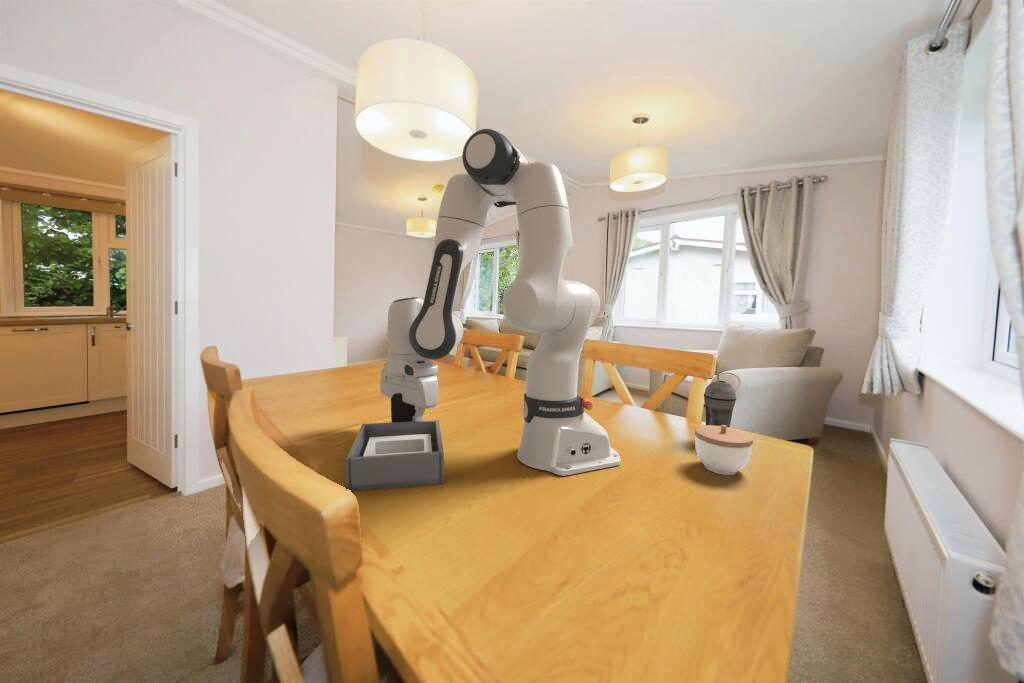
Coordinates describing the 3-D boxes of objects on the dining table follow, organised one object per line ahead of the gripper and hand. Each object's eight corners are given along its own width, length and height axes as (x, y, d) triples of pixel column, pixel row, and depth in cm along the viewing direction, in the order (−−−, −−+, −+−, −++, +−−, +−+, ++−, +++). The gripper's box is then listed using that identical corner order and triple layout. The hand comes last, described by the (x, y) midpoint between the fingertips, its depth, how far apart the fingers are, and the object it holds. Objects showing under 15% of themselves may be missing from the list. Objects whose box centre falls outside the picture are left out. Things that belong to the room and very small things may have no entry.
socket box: (438, 444, 92) (438, 420, 92) (443, 483, 73) (443, 452, 72) (362, 449, 89) (362, 423, 88) (346, 491, 69) (345, 459, 69)
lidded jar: (762, 475, 79) (766, 430, 78) (724, 484, 75) (728, 437, 74) (716, 455, 89) (719, 416, 88) (681, 462, 85) (684, 420, 84)
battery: (423, 434, 99) (423, 390, 98) (417, 440, 95) (417, 394, 94) (397, 433, 100) (396, 389, 99) (390, 438, 96) (389, 392, 95)
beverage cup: (737, 448, 94) (744, 366, 92) (704, 445, 96) (710, 364, 93) (727, 438, 101) (733, 361, 99) (697, 435, 103) (702, 360, 101)
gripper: (373, 360, 100) (374, 412, 102) (420, 370, 87) (420, 431, 88) (395, 358, 105) (396, 408, 106) (442, 367, 91) (443, 425, 93)
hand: (407, 418), depth 97 cm, fingers open, 7 cm apart
